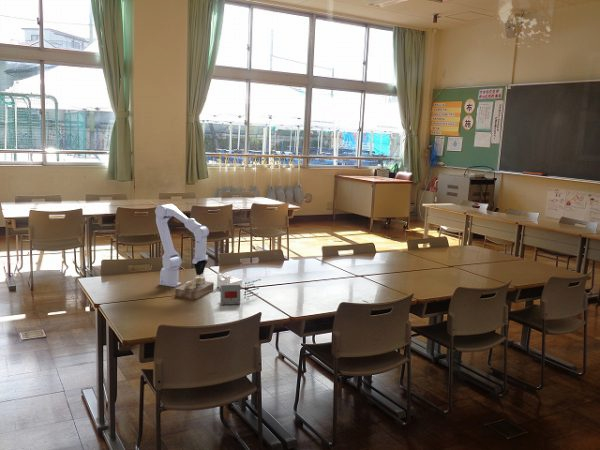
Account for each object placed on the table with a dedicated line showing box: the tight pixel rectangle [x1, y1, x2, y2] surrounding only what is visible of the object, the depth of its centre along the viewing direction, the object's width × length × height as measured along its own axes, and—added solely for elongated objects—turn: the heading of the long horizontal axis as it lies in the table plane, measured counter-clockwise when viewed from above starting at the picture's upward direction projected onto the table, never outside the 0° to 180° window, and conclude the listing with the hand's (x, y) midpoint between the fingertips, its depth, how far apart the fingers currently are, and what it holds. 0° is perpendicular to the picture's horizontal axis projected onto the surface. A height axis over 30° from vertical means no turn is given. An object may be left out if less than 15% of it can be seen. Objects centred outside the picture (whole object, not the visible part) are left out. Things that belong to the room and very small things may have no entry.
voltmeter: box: [219, 278, 262, 306], centre depth 286 cm, size 27×11×10 cm, turn 145°
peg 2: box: [193, 275, 206, 285], centre depth 297 cm, size 4×4×4 cm
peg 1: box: [185, 280, 196, 290], centre depth 288 cm, size 4×4×4 cm
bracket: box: [216, 273, 243, 289], centre depth 310 cm, size 13×7×8 cm, turn 147°
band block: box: [174, 279, 215, 300], centre depth 293 cm, size 12×20×4 cm, turn 164°
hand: (199, 274), depth 297 cm, fingers open, 2 cm apart
